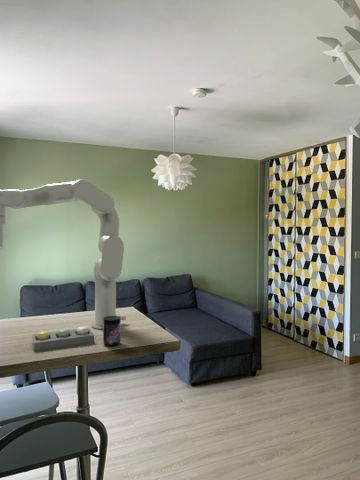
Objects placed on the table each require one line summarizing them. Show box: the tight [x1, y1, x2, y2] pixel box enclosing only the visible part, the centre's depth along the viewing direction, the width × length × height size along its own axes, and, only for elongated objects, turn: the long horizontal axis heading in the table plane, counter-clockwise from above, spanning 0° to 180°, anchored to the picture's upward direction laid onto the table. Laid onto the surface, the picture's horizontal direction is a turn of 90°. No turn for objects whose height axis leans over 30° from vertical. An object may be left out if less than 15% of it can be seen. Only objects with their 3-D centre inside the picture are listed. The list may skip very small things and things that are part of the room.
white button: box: [76, 326, 89, 335], centre depth 141 cm, size 4×4×2 cm
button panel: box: [31, 327, 95, 352], centre depth 138 cm, size 22×11×3 cm, turn 116°
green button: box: [56, 328, 70, 338], centre depth 138 cm, size 4×4×2 cm
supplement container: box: [102, 315, 122, 348], centre depth 136 cm, size 7×7×10 cm
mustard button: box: [36, 330, 49, 340], centre depth 135 cm, size 4×4×2 cm
